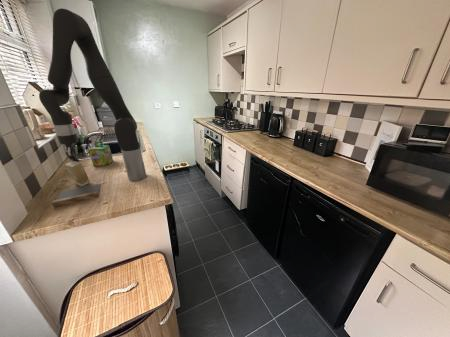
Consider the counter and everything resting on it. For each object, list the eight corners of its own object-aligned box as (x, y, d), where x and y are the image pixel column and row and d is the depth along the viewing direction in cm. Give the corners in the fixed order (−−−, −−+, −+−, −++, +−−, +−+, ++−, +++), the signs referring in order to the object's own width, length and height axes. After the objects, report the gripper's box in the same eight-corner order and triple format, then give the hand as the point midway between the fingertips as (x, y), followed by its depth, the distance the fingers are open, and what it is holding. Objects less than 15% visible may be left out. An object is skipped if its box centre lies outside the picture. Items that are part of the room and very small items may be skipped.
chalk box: (93, 166, 117) (86, 144, 111) (99, 161, 125) (92, 140, 119) (108, 165, 119) (102, 143, 113) (113, 160, 127) (108, 139, 121)
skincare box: (74, 184, 95) (63, 164, 89) (82, 179, 99) (72, 160, 92) (83, 186, 93) (72, 166, 87) (91, 182, 97) (81, 162, 90)
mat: (100, 184, 96) (100, 183, 96) (98, 194, 86) (98, 194, 86) (62, 191, 89) (61, 191, 89) (55, 204, 79) (55, 203, 79)
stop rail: (98, 195, 86) (97, 191, 85) (98, 197, 84) (96, 192, 83) (55, 205, 79) (52, 200, 78) (54, 207, 77) (51, 202, 76)
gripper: (73, 135, 85) (83, 169, 92) (78, 129, 96) (87, 160, 103) (52, 137, 82) (65, 171, 89) (60, 131, 92) (70, 162, 100)
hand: (77, 165), depth 96 cm, fingers closed
